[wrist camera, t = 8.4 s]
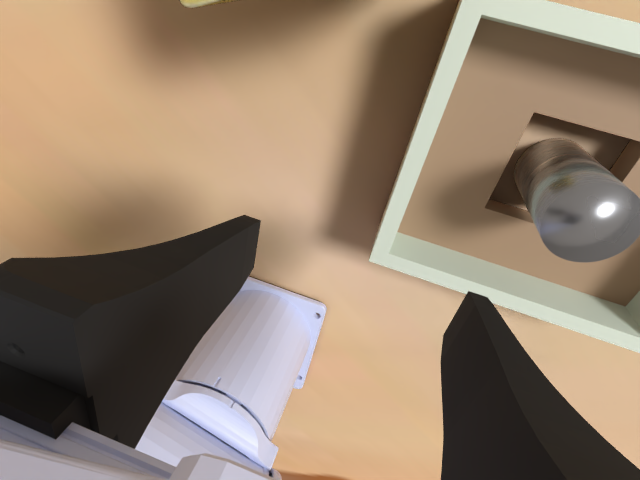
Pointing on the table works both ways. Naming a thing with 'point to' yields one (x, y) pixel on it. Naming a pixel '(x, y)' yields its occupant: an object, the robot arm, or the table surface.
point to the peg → (576, 202)
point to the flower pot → (202, 2)
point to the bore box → (496, 150)
